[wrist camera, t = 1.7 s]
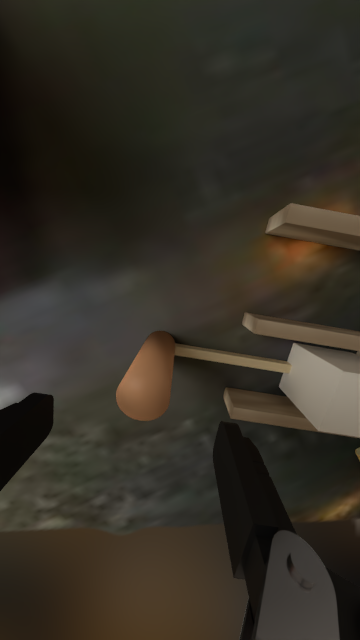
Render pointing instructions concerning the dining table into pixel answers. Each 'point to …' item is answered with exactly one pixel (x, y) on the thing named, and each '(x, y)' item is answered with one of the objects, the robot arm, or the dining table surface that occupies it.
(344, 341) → the birch lanes
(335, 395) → the corded block
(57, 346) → the dining table surface
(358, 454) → the shard
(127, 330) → the dining table surface
